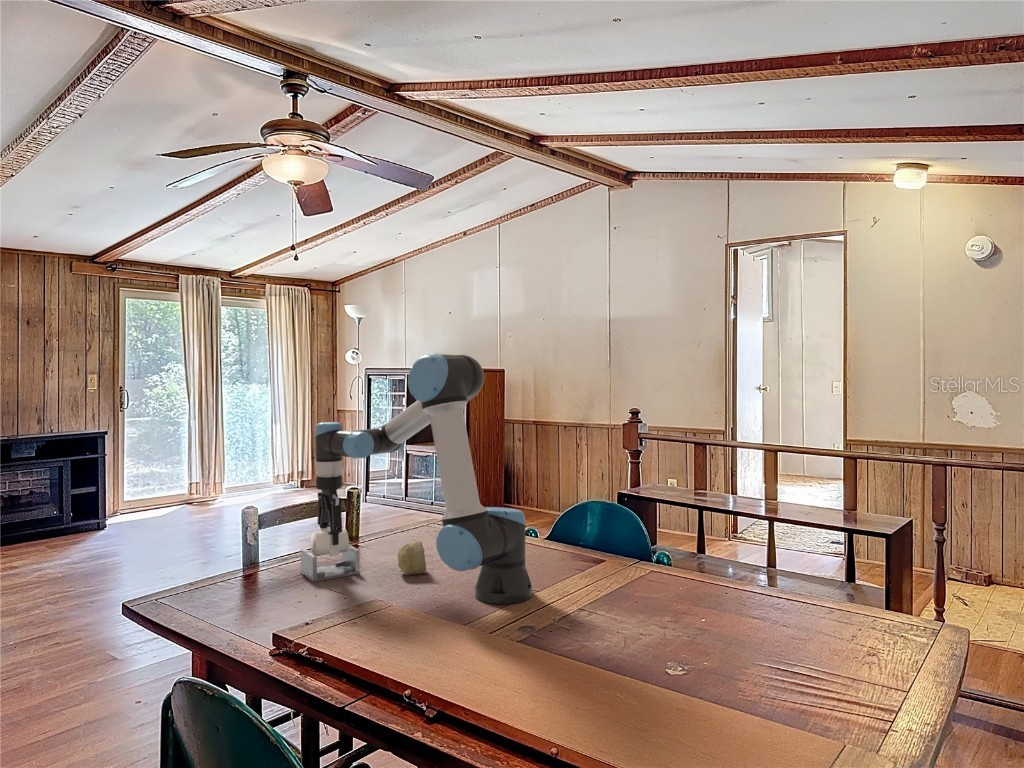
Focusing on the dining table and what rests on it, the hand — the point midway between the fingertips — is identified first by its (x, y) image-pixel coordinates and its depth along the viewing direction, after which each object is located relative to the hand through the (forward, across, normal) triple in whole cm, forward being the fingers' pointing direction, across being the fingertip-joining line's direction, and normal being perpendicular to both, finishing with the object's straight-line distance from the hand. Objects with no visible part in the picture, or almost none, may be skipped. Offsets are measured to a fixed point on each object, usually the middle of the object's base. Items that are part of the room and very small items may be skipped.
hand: (329, 552), depth 208 cm
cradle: (+6, 0, 0) cm, 6 cm away
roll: (-3, 0, 0) cm, 3 cm away
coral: (+6, -14, -20) cm, 25 cm away
